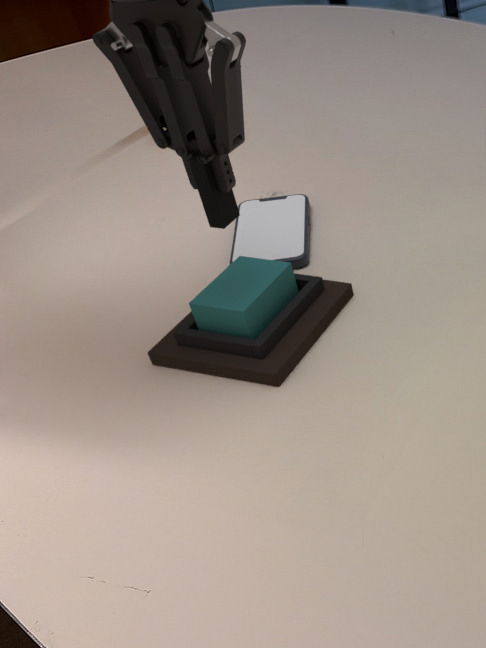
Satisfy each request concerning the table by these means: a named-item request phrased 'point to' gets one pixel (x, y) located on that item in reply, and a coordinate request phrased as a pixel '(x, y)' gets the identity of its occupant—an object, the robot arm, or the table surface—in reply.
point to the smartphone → (273, 230)
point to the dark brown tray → (268, 349)
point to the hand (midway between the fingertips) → (225, 220)
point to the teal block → (245, 297)
